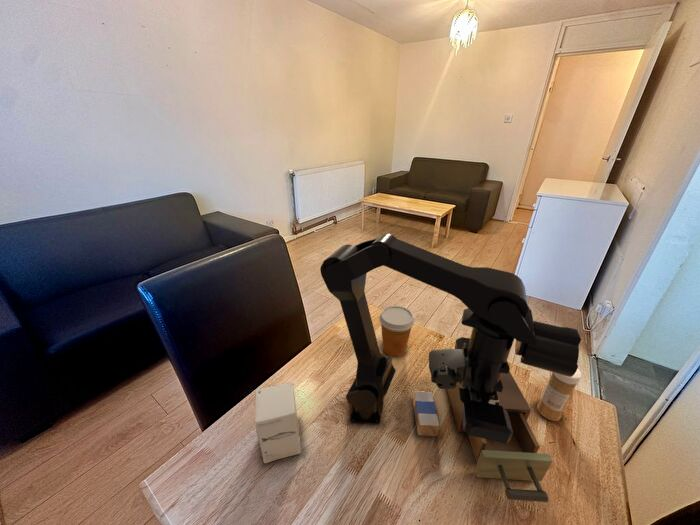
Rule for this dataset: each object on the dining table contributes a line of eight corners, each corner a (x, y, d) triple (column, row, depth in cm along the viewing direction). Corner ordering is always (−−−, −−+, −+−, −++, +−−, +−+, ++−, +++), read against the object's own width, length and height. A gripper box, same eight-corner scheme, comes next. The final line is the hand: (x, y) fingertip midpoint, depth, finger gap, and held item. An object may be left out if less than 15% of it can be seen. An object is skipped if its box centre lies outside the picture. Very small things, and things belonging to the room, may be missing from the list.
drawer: (557, 515, 46) (571, 495, 44) (486, 510, 47) (495, 490, 44) (510, 416, 62) (518, 396, 59) (457, 413, 63) (462, 394, 60)
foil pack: (437, 436, 59) (439, 425, 57) (417, 435, 59) (419, 424, 58) (430, 402, 66) (432, 391, 64) (412, 401, 66) (413, 390, 65)
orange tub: (415, 344, 83) (420, 311, 78) (403, 366, 76) (407, 330, 70) (386, 333, 88) (388, 300, 82) (371, 352, 80) (373, 318, 75)
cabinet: (520, 435, 59) (531, 410, 55) (458, 432, 60) (465, 406, 56) (494, 381, 71) (502, 357, 68) (443, 379, 72) (448, 355, 68)
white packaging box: (263, 465, 54) (252, 423, 48) (263, 428, 61) (254, 388, 55) (302, 455, 56) (296, 413, 50) (298, 420, 62) (292, 379, 57)
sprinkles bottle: (564, 414, 63) (586, 371, 57) (554, 425, 61) (576, 381, 55) (542, 399, 67) (561, 357, 61) (532, 409, 64) (550, 366, 58)
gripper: (434, 307, 54) (424, 366, 62) (436, 387, 38) (423, 455, 45) (496, 316, 52) (479, 376, 59) (527, 405, 36) (498, 473, 43)
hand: (469, 413), depth 52 cm, fingers closed
